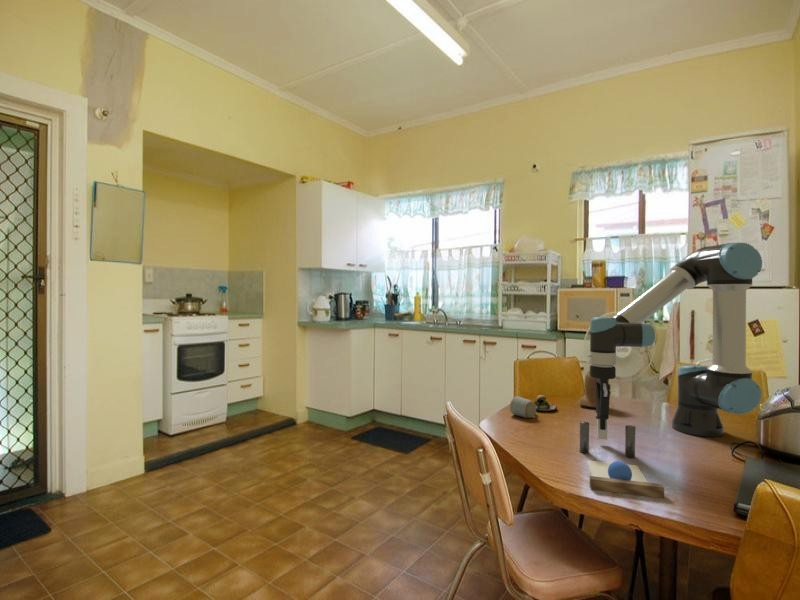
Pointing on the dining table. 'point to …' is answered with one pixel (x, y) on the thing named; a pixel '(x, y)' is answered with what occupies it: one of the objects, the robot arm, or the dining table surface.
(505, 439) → the dining table surface
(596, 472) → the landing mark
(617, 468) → the ball
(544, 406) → the plate of salad
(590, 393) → the brown boot
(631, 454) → the right post
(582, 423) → the left post
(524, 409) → the ceramic mug
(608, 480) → the stopper wall
